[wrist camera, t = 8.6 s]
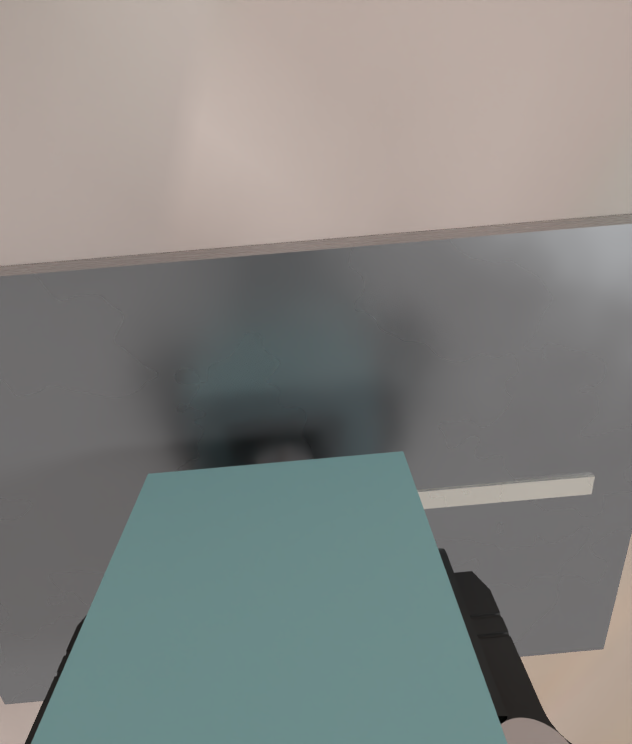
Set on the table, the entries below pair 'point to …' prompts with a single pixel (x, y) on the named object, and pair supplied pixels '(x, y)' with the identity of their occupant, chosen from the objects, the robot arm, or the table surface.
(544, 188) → the table surface
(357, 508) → the teal plastic block
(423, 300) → the shaft plate
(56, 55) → the table surface
